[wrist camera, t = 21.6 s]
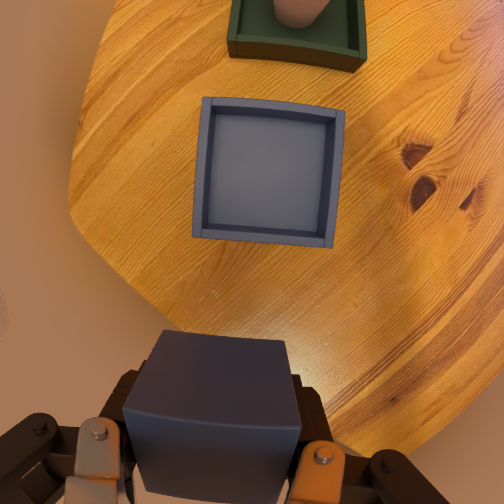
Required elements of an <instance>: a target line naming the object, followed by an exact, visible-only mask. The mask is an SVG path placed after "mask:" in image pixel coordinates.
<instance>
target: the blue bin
mask: <svg viewBox="0 0 504 504" xmlns="http://www.w3.org/2000/svg"><path fill="white" fill-rule="evenodd" d="M344 125H345V111H342V110H336V109H331V108H325V107H319V106H312V105H305V104H298V103H290V102H281V101H272V100H261V99H248V98H231V97H203V98H202V107H201V116H200V126H199V137H198V148H197V160H196V172H195V187H194V203H193V221H192V237H194V238H207V239H220V240H233V241H246V242H258V243H271V244H283V245H295V246H307V247H319V248H323V247H324V248H331V249H332V248H333V241H334V233H335V225H336V217H337V208H338V199H339V189H340V179H341V168H342V155H343V141H344Z"/></svg>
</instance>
